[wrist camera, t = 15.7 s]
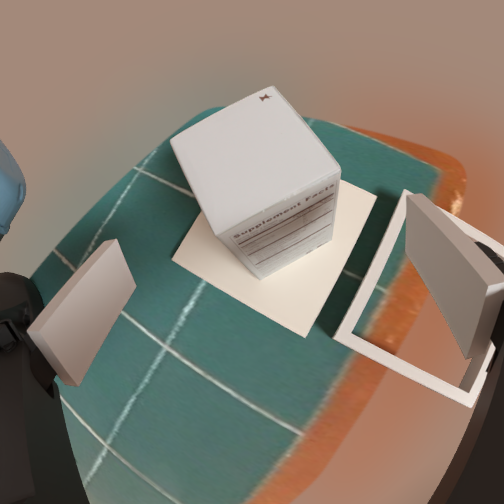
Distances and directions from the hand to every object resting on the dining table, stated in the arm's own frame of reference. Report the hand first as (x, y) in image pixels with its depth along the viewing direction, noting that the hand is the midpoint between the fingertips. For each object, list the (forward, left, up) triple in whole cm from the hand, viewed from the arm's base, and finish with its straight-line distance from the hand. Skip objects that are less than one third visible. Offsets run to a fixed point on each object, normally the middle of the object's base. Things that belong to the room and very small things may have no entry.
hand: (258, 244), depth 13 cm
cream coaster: (-4, +4, -14) cm, 16 cm away
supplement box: (-4, +5, -14) cm, 15 cm away
